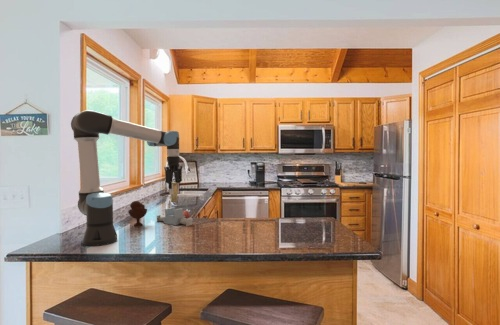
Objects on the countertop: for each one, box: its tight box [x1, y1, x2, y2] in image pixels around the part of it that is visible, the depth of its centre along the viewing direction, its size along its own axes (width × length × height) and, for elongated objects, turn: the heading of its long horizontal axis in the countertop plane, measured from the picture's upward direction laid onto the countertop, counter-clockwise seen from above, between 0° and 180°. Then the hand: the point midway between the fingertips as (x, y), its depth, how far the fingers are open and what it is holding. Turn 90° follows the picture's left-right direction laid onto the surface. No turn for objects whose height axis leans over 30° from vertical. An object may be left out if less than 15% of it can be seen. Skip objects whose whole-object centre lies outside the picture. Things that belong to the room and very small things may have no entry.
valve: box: [156, 206, 194, 227], centre depth 192 cm, size 15×26×9 cm, turn 59°
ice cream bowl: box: [127, 200, 148, 227], centre depth 184 cm, size 11×11×15 cm
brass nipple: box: [170, 181, 179, 203], centre depth 189 cm, size 4×4×12 cm
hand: (174, 193), depth 189 cm, fingers closed on brass nipple, 4 cm apart
